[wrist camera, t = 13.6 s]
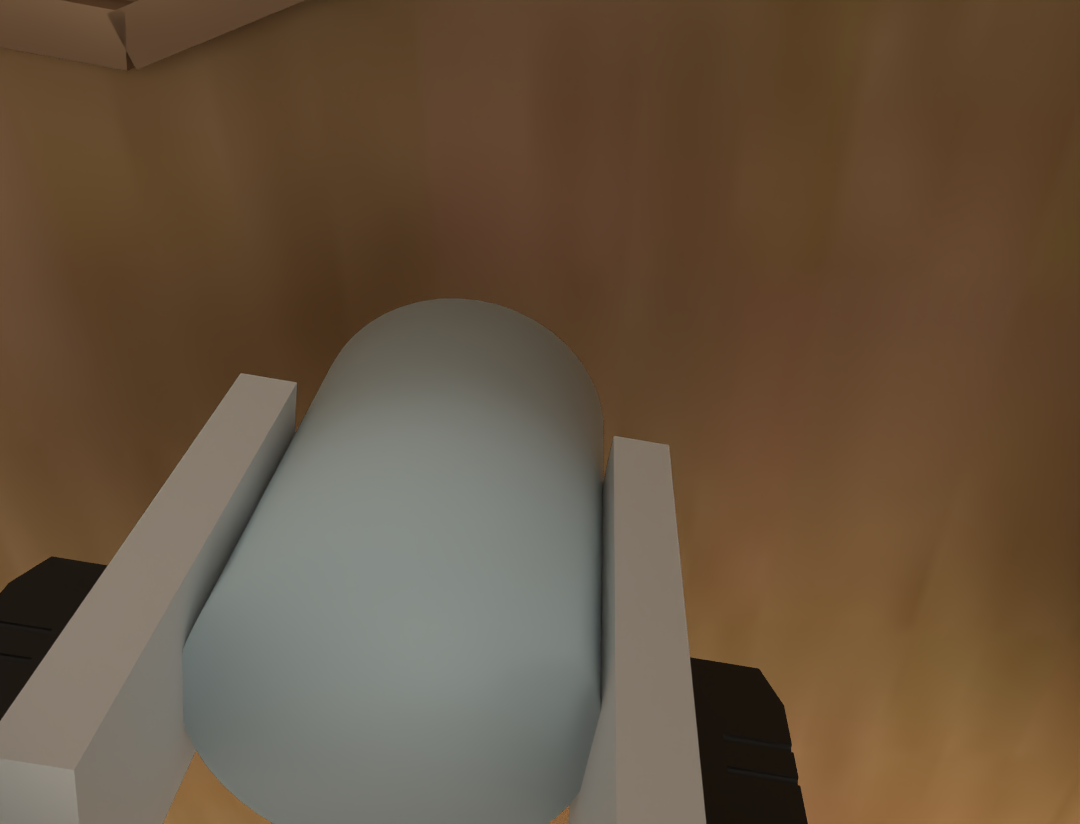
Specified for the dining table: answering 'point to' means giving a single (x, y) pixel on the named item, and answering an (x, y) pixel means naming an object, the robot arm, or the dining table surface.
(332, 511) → the loose bead
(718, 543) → the dining table surface
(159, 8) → the tray
